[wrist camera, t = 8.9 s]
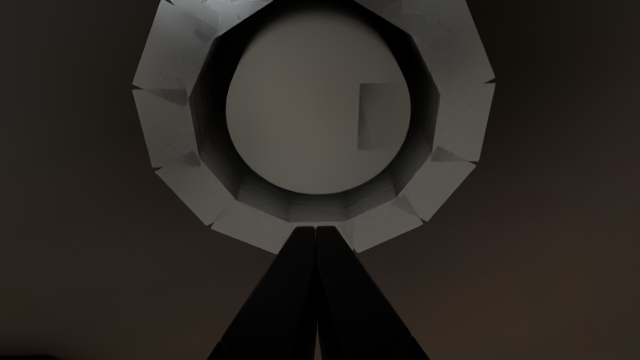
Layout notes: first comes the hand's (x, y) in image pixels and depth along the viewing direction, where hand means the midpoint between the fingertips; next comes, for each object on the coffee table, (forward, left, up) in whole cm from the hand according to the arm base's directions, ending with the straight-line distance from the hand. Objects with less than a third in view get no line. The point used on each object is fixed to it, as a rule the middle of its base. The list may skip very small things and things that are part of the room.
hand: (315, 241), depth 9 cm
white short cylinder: (0, 0, -9) cm, 9 cm away
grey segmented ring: (0, 0, -9) cm, 9 cm away
